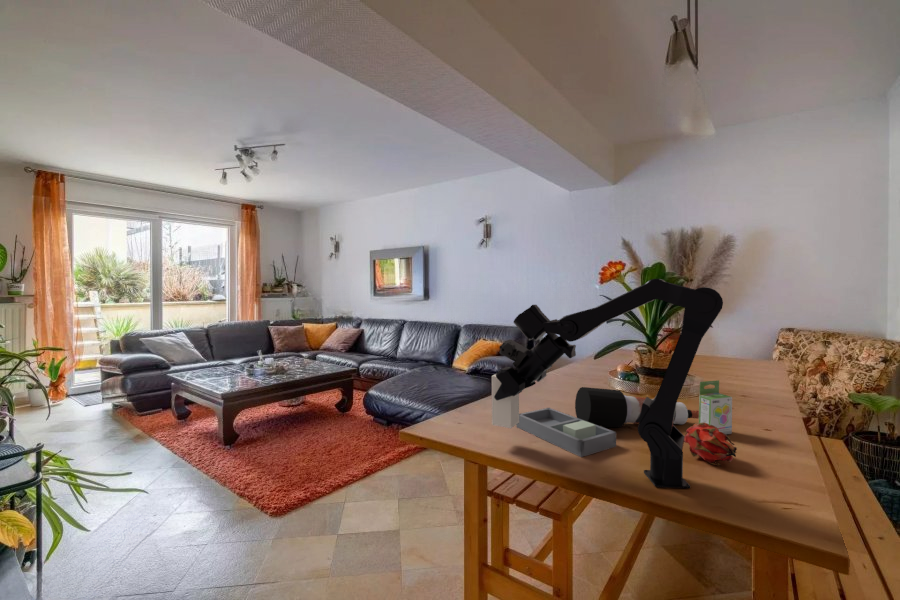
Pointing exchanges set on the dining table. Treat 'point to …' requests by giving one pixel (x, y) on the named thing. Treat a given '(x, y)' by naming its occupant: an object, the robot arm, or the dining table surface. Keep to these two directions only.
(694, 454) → the dragon fruit
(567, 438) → the tray
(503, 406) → the cream block
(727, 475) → the dining table surface
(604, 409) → the black and white bottle
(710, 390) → the ink box
